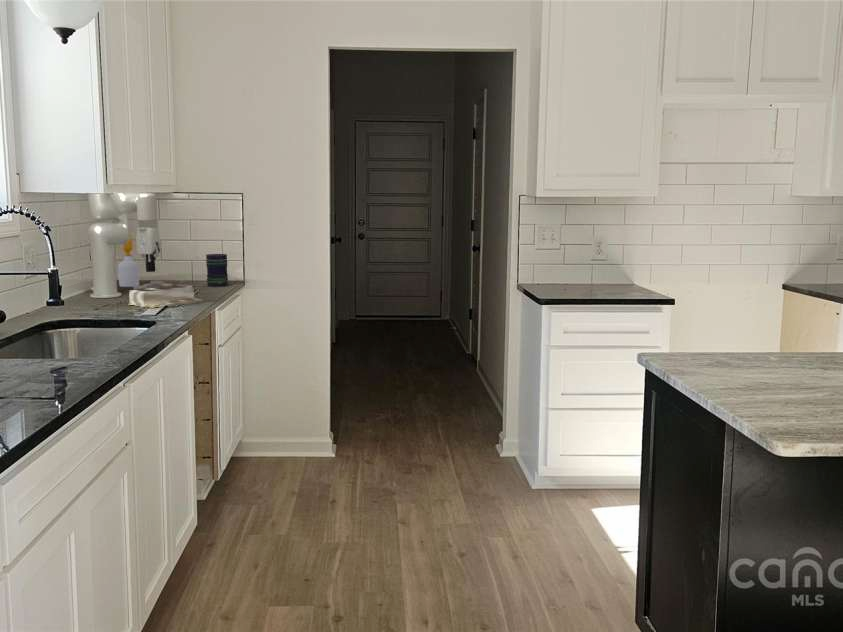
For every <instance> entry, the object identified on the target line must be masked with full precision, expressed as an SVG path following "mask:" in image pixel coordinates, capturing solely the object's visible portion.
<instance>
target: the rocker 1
mask: <svg viewBox="0 0 843 632" xmlns="http://www.w3.org/2000/svg"><path fill="white" fill-rule="evenodd" d="M132 288H133V290H139V289H148V288H157V286H156V284H155V283H153V284H150V283H145V284H141V285H140V284H139V286H133V287H132Z"/></svg>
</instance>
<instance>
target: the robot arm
mask: <svg viewBox="0 0 843 632" xmlns="http://www.w3.org/2000/svg"><path fill="white" fill-rule="evenodd" d="M87 200H88V208H89V214H90V217H91V218H92V219H93V220H98V221H99V220H101V221H102V220H106V221H107V220H114V221H115V222H96V223H93V224H91V225H90V226H89V227H88V230H87V236H88V241H89V244H90V245H89V246H90V253H91V263H92V265H91V266H92V281H93V286H92V287H91V288H90V289H91V291H93V293H90V294H89V296H90V298H93V299H107V298H108V299H109V298H117V297H121V296H122V292H118V282H117V278H118V277H117V263H116V253H115V252H114V251H113V249H112V248H111V247H110V246H117V245H123V244H126V243H128V242H129V241H130V238H131V236H132V231H131V222H130V213H136V214H137V216H136V217H137V231H136V252H137V253H136V254H140V257H142V258H143V260H144V262H145V271H146V273H152V272H153V273H155V272H156V261H157V258H158V257H160V253H161V252H162V251H161V250H162V246H161V245H162V244H161V243H162V242H161V236H160V231H159V219H158V204H157V203H158V202H157V195H156V194H155V193H154V192H153V193H152V192H150V193H149V192H122V193H113V194H110V193H109V194H88V193H87Z"/></svg>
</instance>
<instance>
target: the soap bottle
mask: <svg viewBox="0 0 843 632" xmlns="http://www.w3.org/2000/svg"><path fill="white" fill-rule="evenodd" d="M122 247H123V248H122V251H124V253H125V254H124V257H123V258H124V259H123V260H122V261H121V262H120V263H119V264H118V265H117V266H118V282H119V283H118V286H119V287H121V288H133V286H140V268H139V267H140V266H139V264H138V263H137V262H136V261H134V260H133V257H132V254H131V253H130V252H132V250H133V236H132V235H131V238H130V241H129V242H128V243H126V244H122Z"/></svg>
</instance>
